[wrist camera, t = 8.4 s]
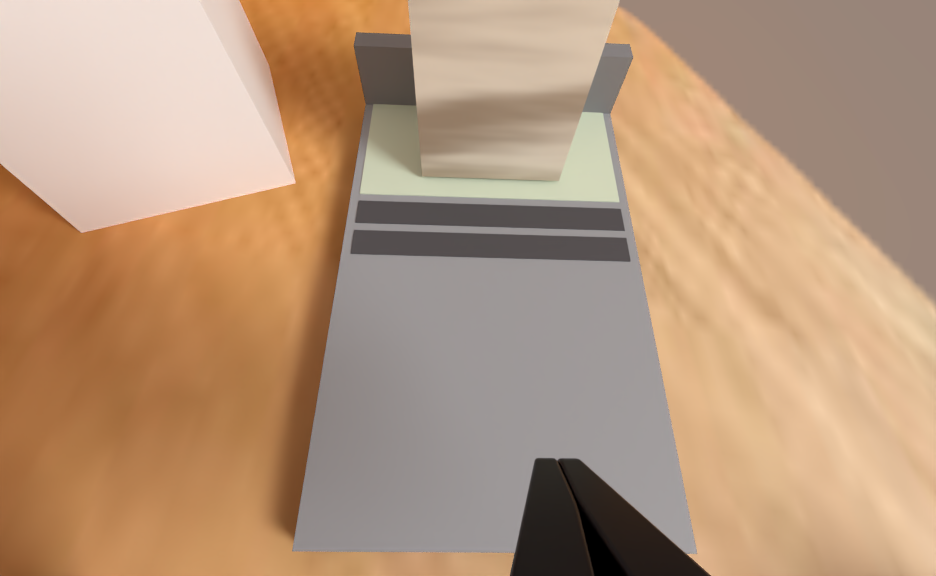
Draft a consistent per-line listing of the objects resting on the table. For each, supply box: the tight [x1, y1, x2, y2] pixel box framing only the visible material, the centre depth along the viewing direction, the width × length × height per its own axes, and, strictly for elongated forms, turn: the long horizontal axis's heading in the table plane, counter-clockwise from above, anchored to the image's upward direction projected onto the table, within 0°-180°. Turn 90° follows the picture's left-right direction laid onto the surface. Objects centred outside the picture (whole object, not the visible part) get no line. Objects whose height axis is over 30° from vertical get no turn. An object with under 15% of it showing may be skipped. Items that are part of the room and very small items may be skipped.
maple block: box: [408, 0, 620, 181], centre depth 21 cm, size 5×8×12 cm, turn 89°
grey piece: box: [292, 32, 697, 554], centre depth 22 cm, size 26×16×6 cm, turn 179°
